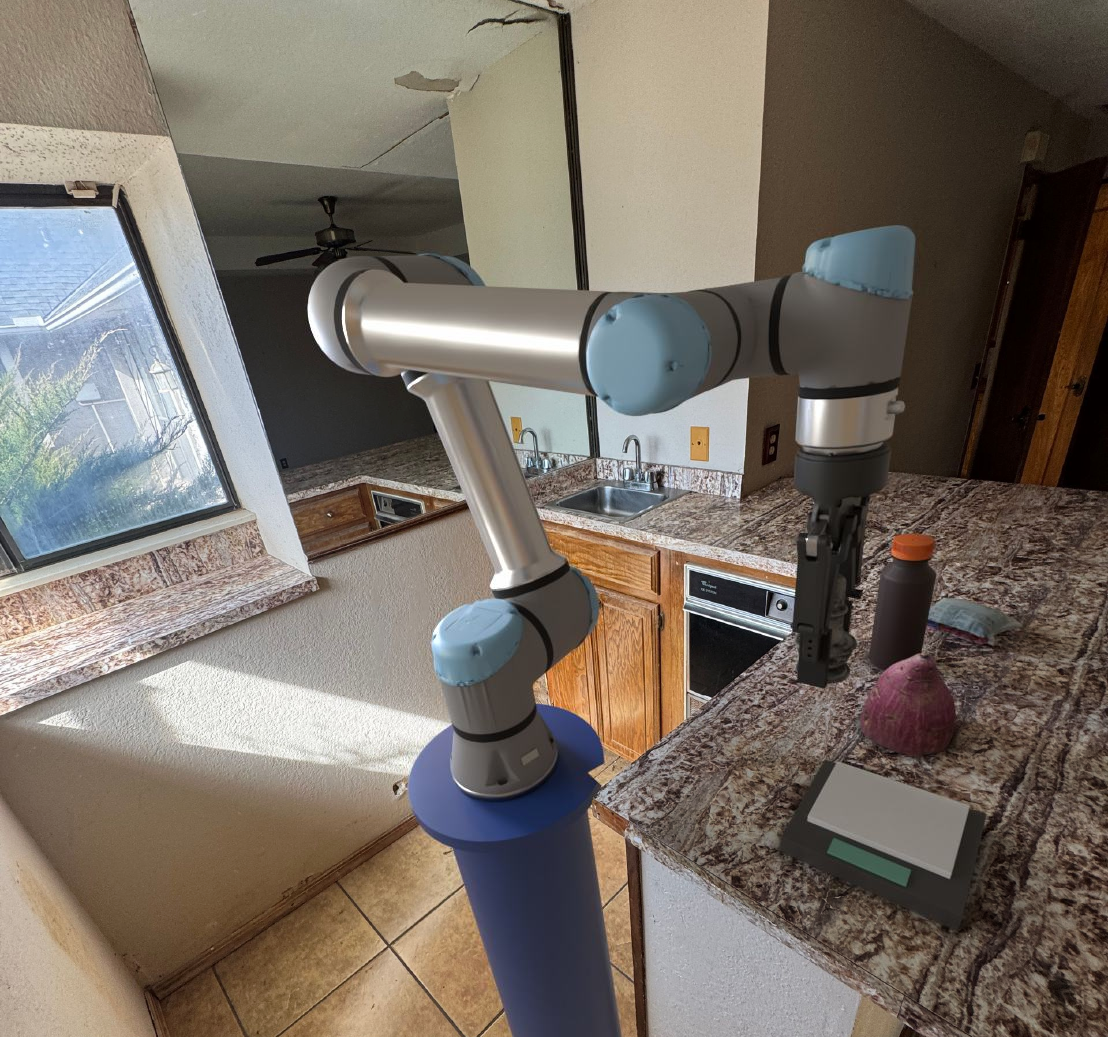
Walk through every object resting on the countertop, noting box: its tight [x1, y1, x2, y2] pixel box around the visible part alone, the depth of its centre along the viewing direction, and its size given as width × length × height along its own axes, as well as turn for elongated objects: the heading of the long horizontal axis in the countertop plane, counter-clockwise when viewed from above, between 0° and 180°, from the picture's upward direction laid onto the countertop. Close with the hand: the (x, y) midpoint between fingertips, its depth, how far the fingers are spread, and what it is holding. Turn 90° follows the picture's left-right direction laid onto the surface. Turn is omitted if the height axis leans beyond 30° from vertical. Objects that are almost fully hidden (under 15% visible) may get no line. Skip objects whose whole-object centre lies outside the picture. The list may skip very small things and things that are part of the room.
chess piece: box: [793, 573, 858, 685], centre depth 57 cm, size 6×6×12 cm
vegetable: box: [860, 652, 957, 757], centre depth 70 cm, size 10×10×15 cm
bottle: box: [868, 532, 937, 671], centre depth 83 cm, size 7×7×20 cm
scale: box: [779, 759, 988, 932], centre depth 60 cm, size 16×14×3 cm
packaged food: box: [926, 596, 1023, 646], centre depth 91 cm, size 9×12×5 cm
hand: (822, 667), depth 60 cm, fingers closed on chess piece, 6 cm apart
